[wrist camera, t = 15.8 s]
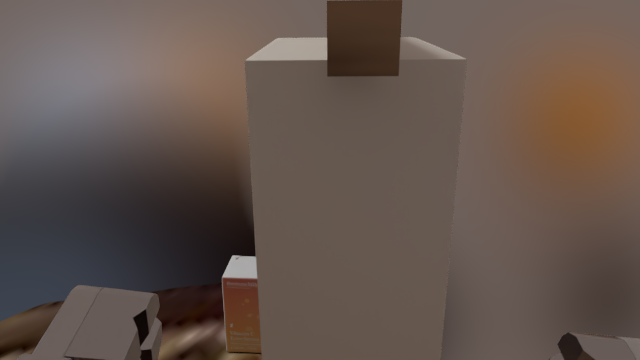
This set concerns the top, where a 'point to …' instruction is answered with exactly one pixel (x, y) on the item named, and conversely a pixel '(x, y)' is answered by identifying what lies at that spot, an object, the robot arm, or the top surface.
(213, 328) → the top surface
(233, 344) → the small box
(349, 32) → the walnut bar
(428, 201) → the off-white pedestal
